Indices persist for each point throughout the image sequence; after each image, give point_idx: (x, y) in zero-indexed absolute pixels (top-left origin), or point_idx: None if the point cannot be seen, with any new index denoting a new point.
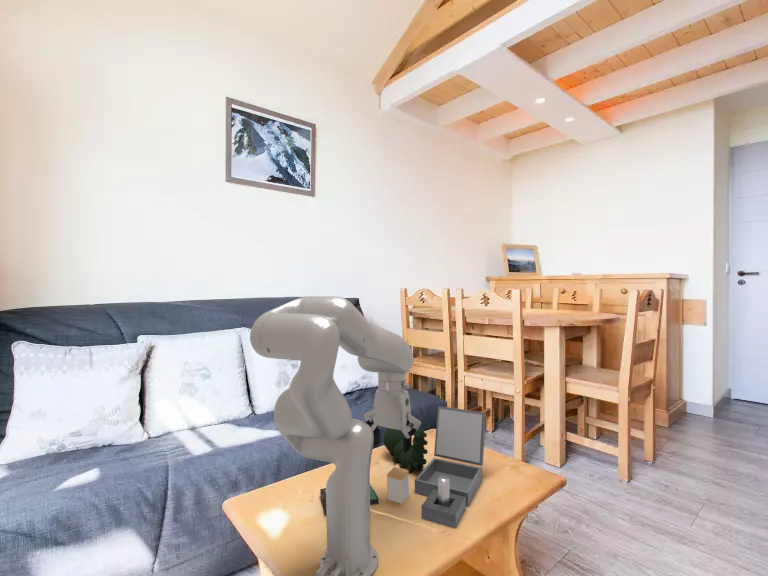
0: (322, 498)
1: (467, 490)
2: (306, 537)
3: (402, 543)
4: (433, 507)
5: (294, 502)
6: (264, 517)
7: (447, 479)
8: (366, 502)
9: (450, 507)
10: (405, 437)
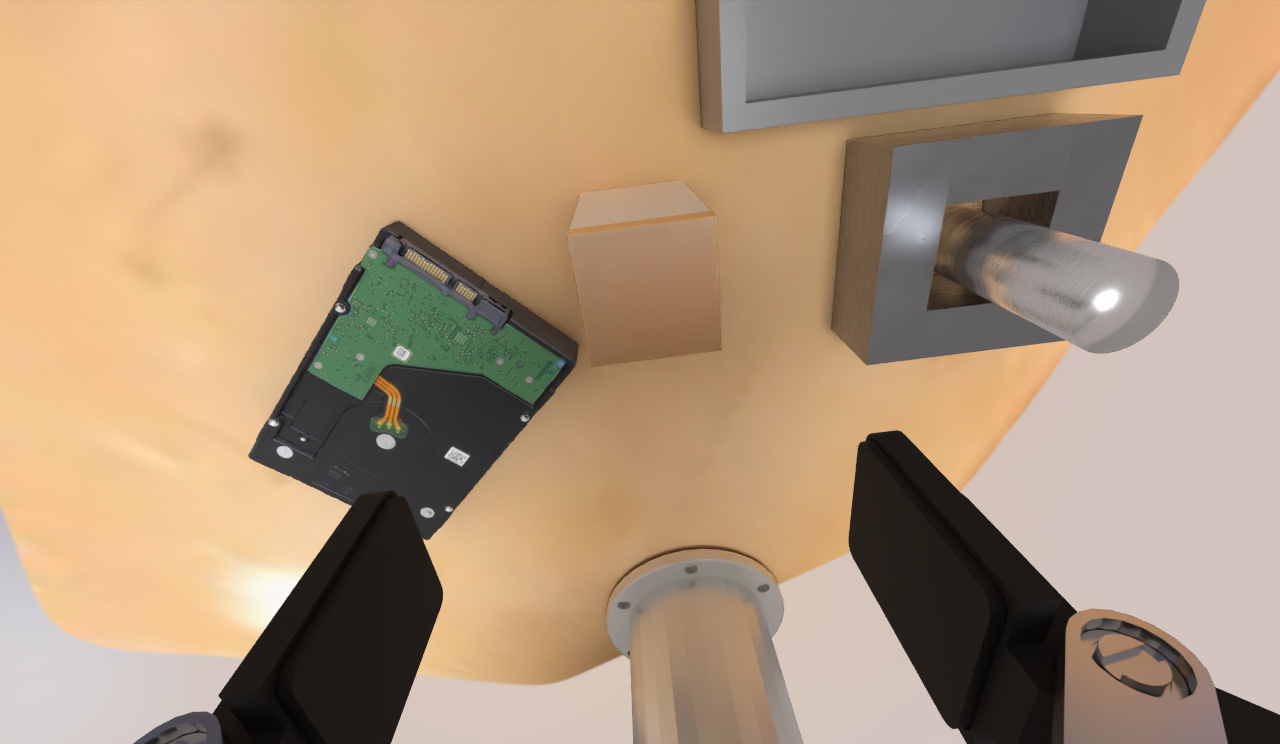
0: (344, 502)
1: (1179, 32)
2: (493, 605)
3: (805, 475)
4: (936, 344)
5: (242, 521)
6: None
7: (1159, 303)
8: None
9: None
10: (987, 724)
